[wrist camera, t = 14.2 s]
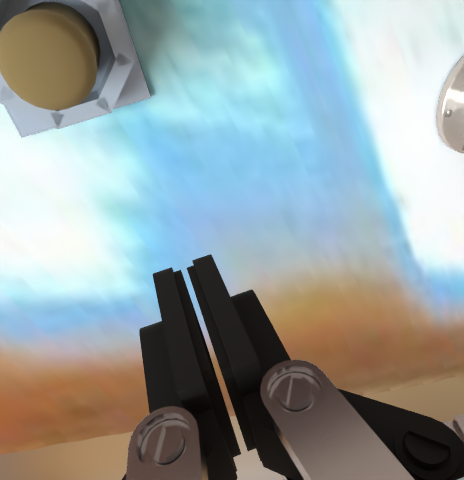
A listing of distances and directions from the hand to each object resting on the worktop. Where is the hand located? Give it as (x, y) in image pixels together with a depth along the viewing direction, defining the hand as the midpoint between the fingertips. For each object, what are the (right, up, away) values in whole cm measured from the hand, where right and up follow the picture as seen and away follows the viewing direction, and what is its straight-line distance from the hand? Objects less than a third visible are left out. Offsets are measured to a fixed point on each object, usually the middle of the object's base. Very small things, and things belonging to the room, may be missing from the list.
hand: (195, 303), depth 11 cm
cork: (-12, +16, +19) cm, 28 cm away
